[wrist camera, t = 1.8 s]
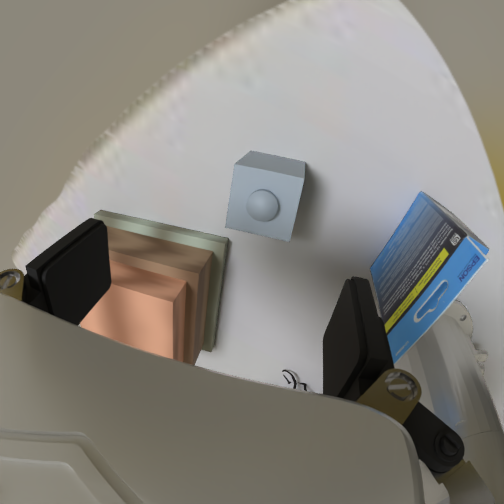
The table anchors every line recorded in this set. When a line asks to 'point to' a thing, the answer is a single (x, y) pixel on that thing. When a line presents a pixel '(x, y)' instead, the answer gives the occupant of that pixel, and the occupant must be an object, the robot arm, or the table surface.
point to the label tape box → (423, 271)
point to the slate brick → (265, 195)
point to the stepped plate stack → (160, 287)
